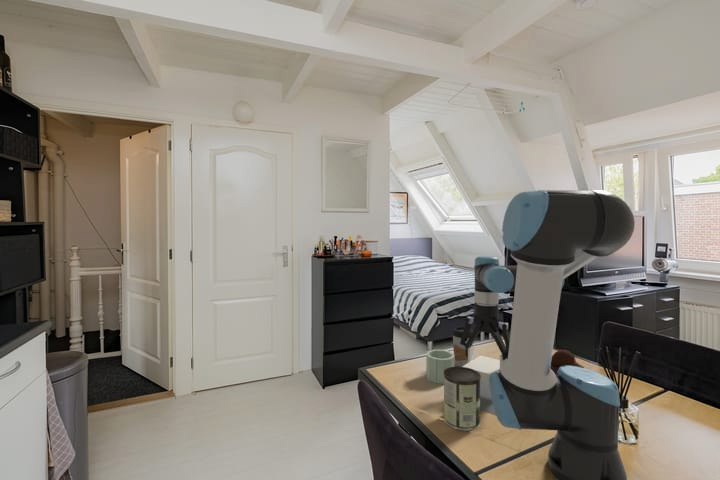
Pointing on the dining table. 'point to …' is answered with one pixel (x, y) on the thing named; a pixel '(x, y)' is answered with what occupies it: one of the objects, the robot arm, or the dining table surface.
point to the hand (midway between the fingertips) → (486, 370)
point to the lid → (484, 367)
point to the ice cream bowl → (563, 360)
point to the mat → (486, 398)
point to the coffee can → (462, 398)
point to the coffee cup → (460, 346)
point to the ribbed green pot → (438, 364)
